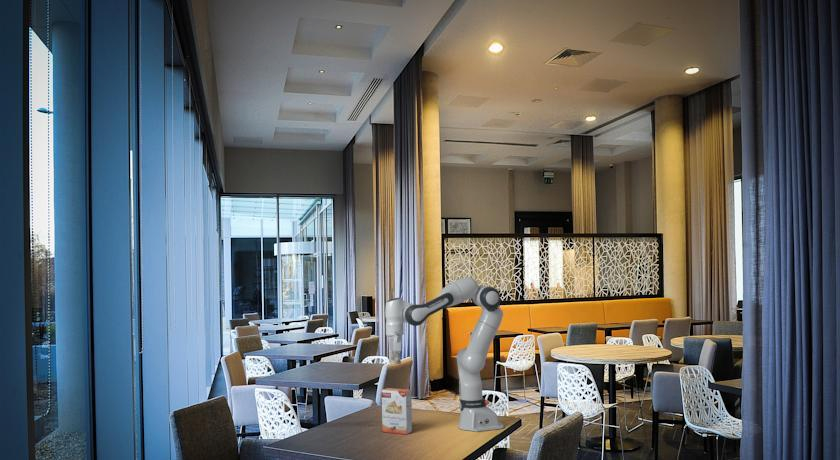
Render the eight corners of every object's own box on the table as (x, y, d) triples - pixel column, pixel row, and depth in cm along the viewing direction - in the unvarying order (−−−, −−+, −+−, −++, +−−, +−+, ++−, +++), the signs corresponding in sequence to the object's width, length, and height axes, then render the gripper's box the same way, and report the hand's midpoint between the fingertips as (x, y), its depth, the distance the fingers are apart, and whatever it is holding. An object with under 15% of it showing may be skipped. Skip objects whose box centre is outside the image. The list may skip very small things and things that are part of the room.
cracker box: (381, 432, 309) (381, 389, 311) (388, 429, 315) (387, 387, 316) (406, 435, 303) (405, 391, 305) (412, 432, 308) (411, 389, 310)
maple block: (399, 363, 310) (399, 352, 310) (400, 364, 305) (400, 353, 306) (390, 363, 309) (390, 353, 309) (391, 364, 305) (391, 354, 305)
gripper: (404, 332, 299) (405, 362, 298) (398, 329, 319) (399, 357, 318) (390, 333, 298) (391, 362, 297) (386, 330, 318) (386, 357, 317)
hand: (395, 359), depth 307 cm, fingers closed on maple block, 4 cm apart
